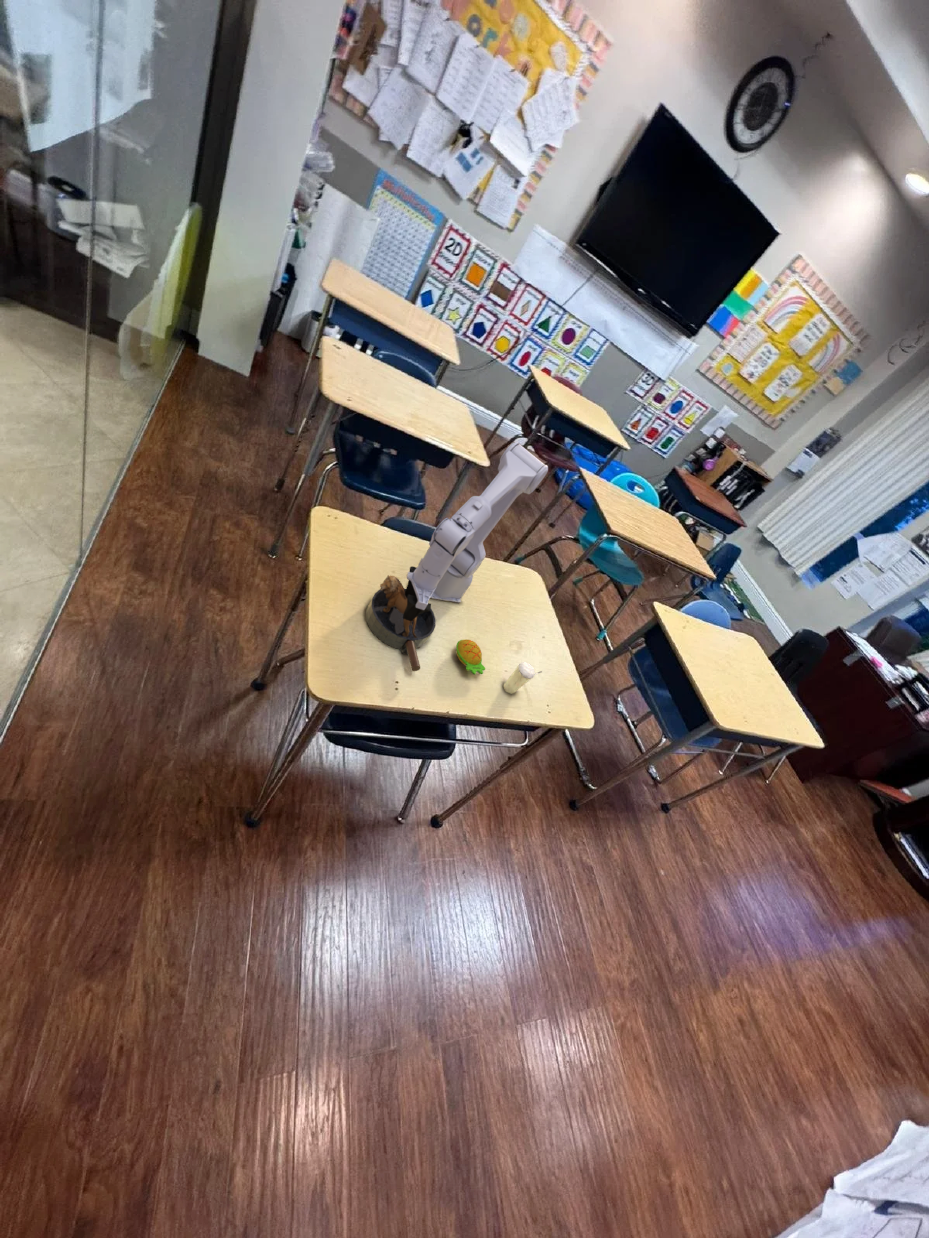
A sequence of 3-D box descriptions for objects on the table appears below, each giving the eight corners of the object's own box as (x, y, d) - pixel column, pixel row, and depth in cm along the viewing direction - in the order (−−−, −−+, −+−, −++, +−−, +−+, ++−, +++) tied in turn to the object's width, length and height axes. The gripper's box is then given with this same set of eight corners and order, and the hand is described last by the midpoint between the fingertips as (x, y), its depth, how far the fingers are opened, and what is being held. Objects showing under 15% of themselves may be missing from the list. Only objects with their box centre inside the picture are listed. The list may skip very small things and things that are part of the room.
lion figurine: (367, 601, 123) (380, 575, 117) (383, 593, 126) (396, 568, 121) (409, 644, 120) (424, 620, 114) (423, 635, 124) (439, 612, 118)
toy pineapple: (469, 646, 130) (479, 633, 127) (484, 679, 125) (495, 667, 122) (446, 646, 126) (456, 633, 123) (461, 681, 121) (472, 668, 118)
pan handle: (400, 649, 118) (407, 639, 116) (408, 650, 119) (415, 639, 117) (406, 676, 114) (413, 665, 111) (414, 676, 115) (421, 666, 113)
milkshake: (518, 700, 126) (541, 678, 120) (499, 691, 125) (522, 668, 119) (520, 687, 130) (542, 664, 123) (502, 677, 129) (523, 654, 122)
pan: (420, 601, 132) (427, 591, 130) (435, 652, 123) (442, 642, 120) (361, 593, 124) (366, 581, 121) (371, 647, 114) (377, 636, 112)
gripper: (417, 539, 115) (394, 580, 123) (414, 583, 105) (389, 624, 113) (445, 550, 117) (421, 589, 126) (445, 594, 107) (418, 633, 116)
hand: (408, 606), depth 120 cm, fingers open, 7 cm apart
